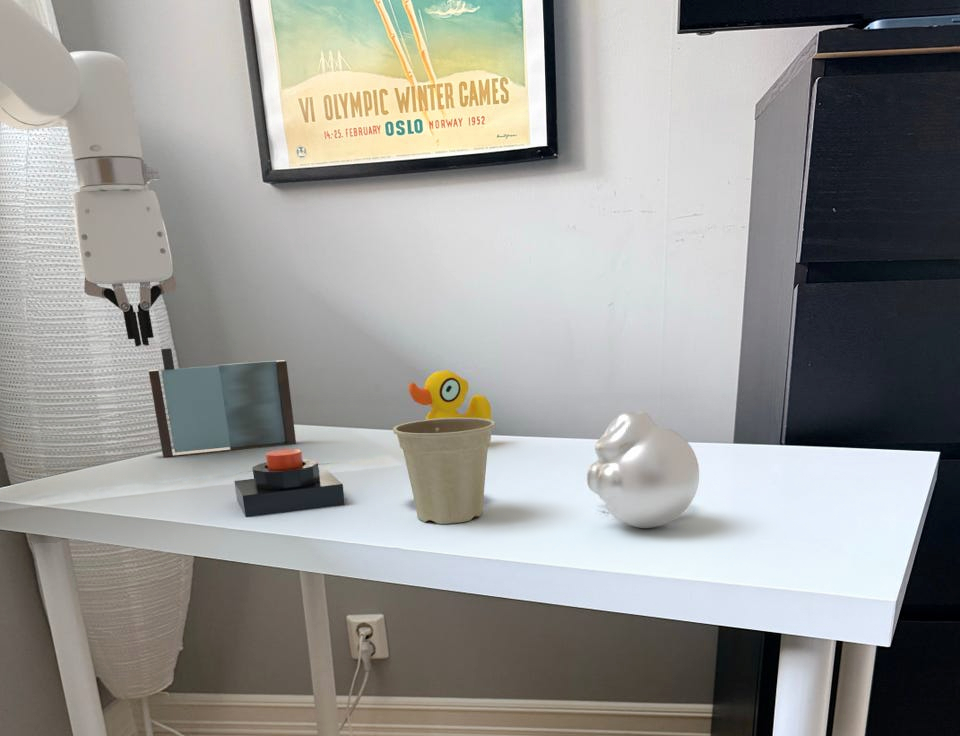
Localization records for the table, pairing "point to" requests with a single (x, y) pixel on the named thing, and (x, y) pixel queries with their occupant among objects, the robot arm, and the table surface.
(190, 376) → the window pane
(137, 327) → the robot arm
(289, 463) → the button
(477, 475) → the flower pot
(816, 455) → the table surface
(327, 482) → the button box
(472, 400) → the duckling
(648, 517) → the pearly white lumpy ball
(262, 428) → the window frame
